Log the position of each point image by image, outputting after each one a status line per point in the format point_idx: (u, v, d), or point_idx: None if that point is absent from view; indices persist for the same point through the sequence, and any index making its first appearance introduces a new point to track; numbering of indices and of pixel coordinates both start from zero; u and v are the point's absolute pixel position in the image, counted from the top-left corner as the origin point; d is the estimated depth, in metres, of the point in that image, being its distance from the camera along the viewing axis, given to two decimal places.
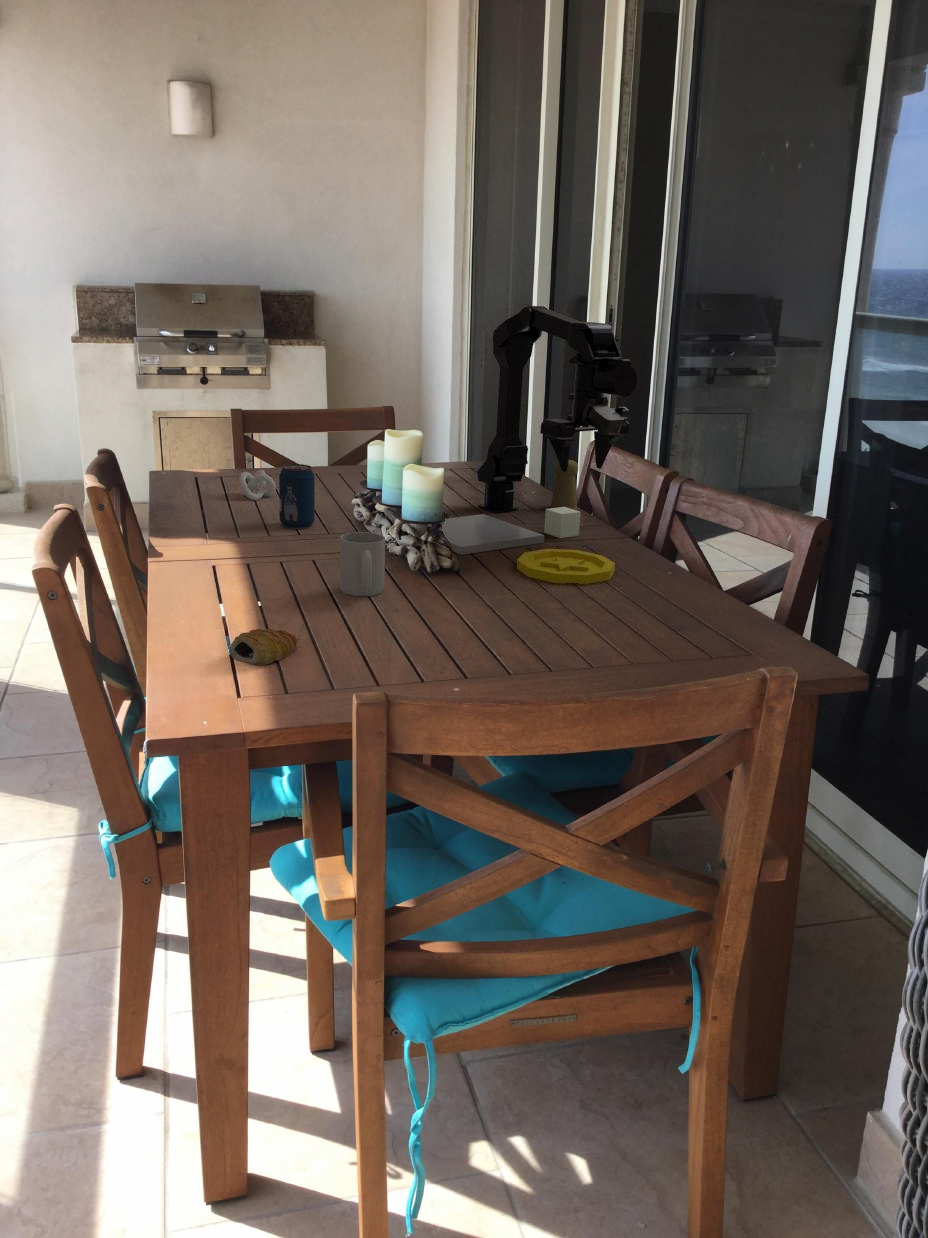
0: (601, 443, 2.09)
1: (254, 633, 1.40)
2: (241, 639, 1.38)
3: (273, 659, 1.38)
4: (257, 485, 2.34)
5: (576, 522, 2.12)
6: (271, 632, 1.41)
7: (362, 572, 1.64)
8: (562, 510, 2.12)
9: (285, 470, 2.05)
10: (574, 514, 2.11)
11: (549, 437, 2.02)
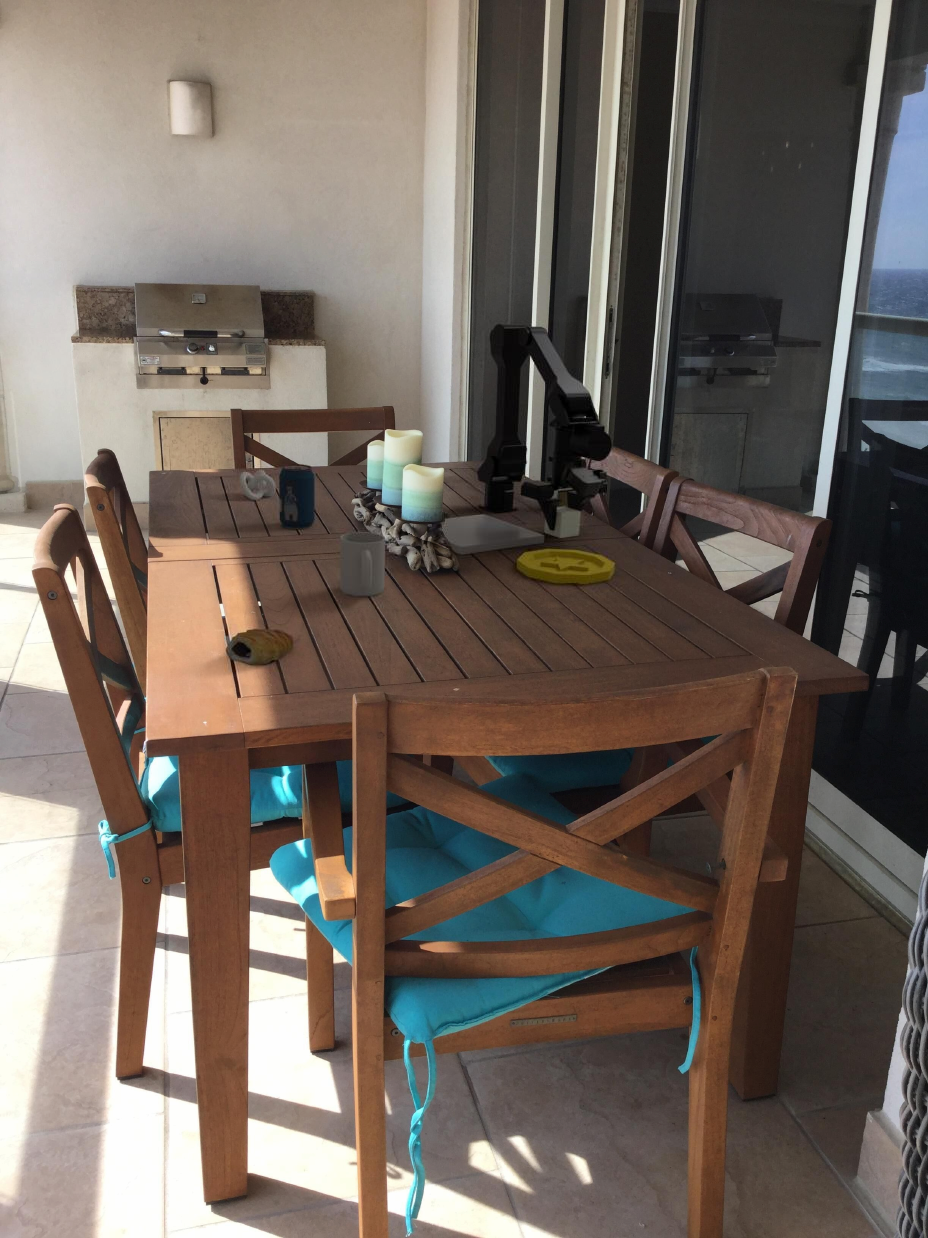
0: (573, 503, 2.14)
1: (251, 632, 1.40)
2: (239, 639, 1.38)
3: (271, 659, 1.39)
4: (257, 485, 2.34)
5: (576, 521, 2.12)
6: (268, 632, 1.41)
7: (362, 572, 1.64)
8: (562, 509, 2.12)
9: (285, 470, 2.05)
10: (575, 513, 2.11)
11: None
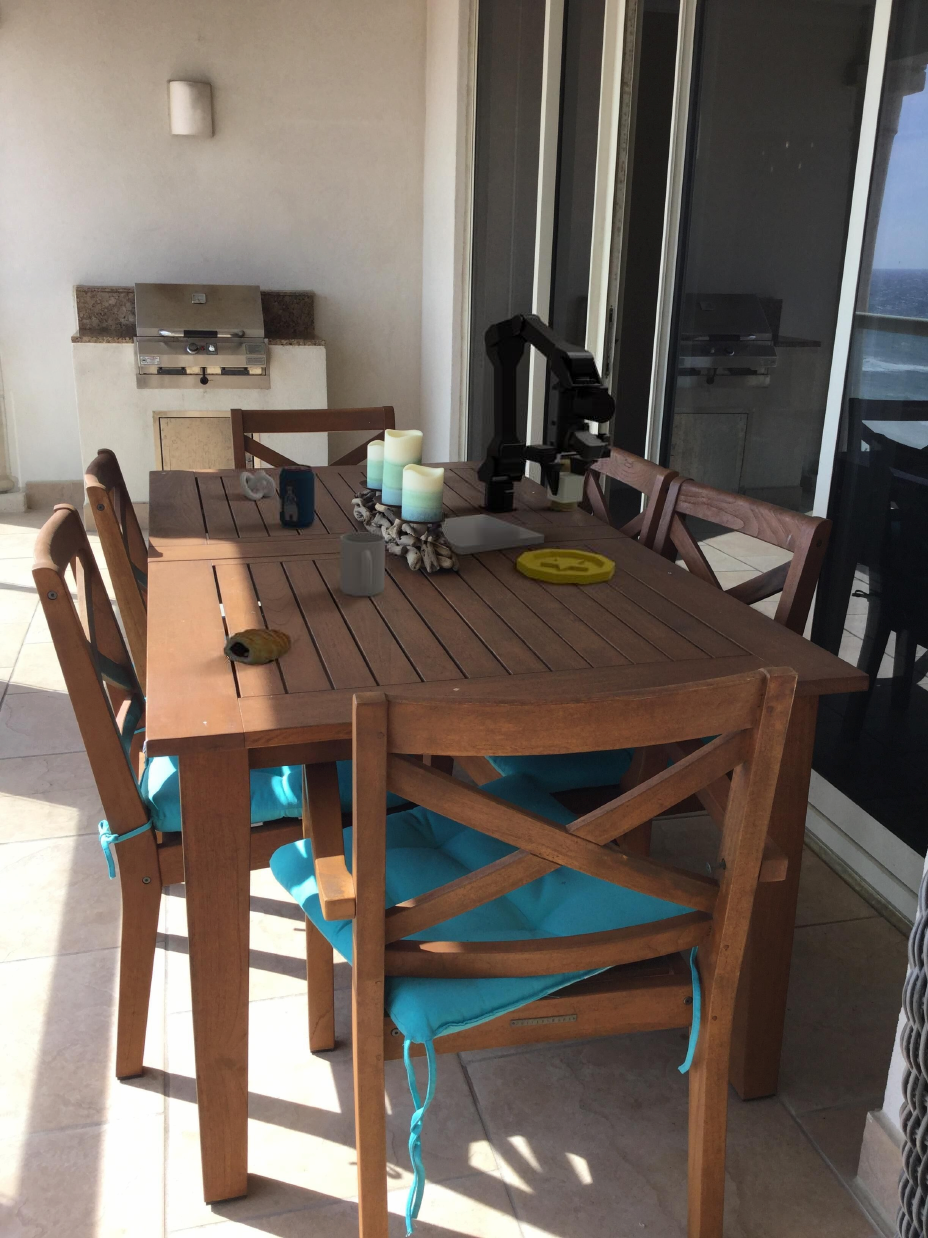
0: (577, 468, 2.11)
1: (248, 632, 1.40)
2: (237, 639, 1.38)
3: (269, 658, 1.39)
4: (257, 485, 2.34)
5: (579, 487, 2.09)
6: (266, 631, 1.41)
7: (362, 572, 1.64)
8: (565, 475, 2.10)
9: (285, 470, 2.05)
10: (578, 478, 2.09)
11: None
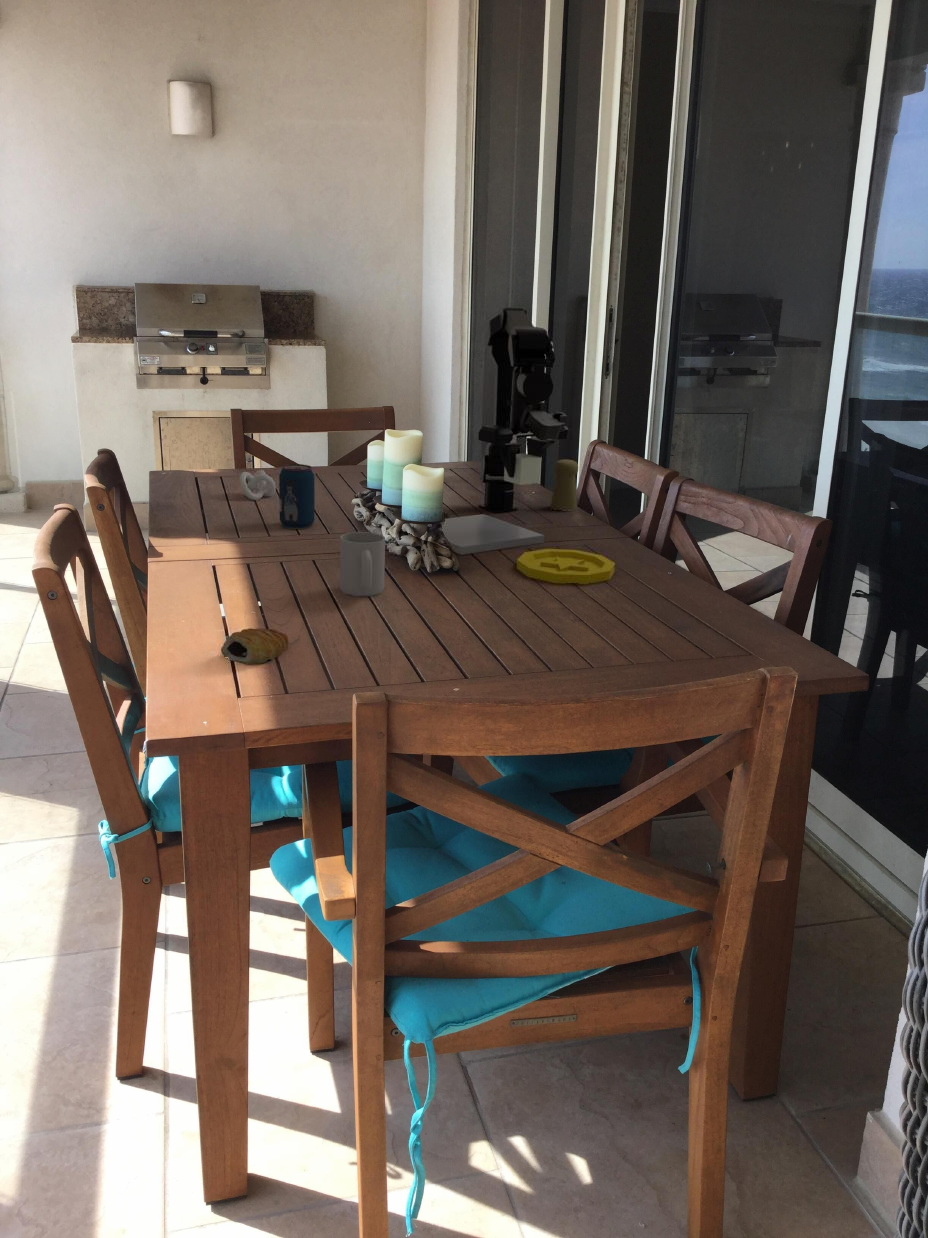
0: (533, 450, 2.07)
1: (246, 632, 1.40)
2: (234, 639, 1.38)
3: (267, 658, 1.39)
4: (257, 485, 2.34)
5: (536, 468, 2.05)
6: (263, 631, 1.41)
7: (362, 572, 1.64)
8: (522, 456, 2.06)
9: (285, 470, 2.05)
10: (535, 459, 2.05)
11: None
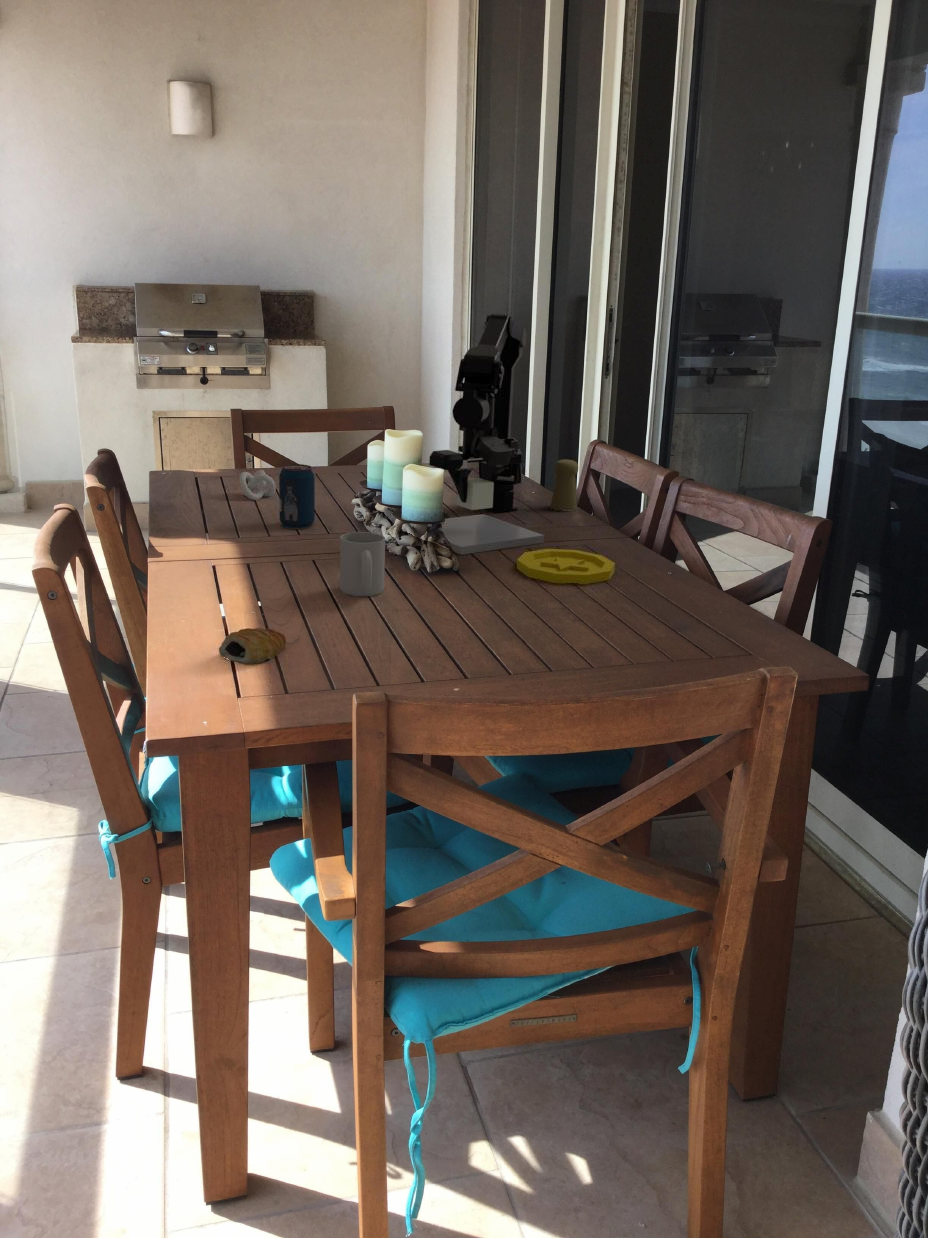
0: (487, 474, 2.06)
1: (244, 632, 1.40)
2: (232, 639, 1.38)
3: (265, 658, 1.39)
4: (257, 485, 2.34)
5: (489, 493, 2.04)
6: (261, 631, 1.41)
7: (362, 572, 1.64)
8: (475, 481, 2.05)
9: (285, 470, 2.05)
10: (487, 484, 2.03)
11: None
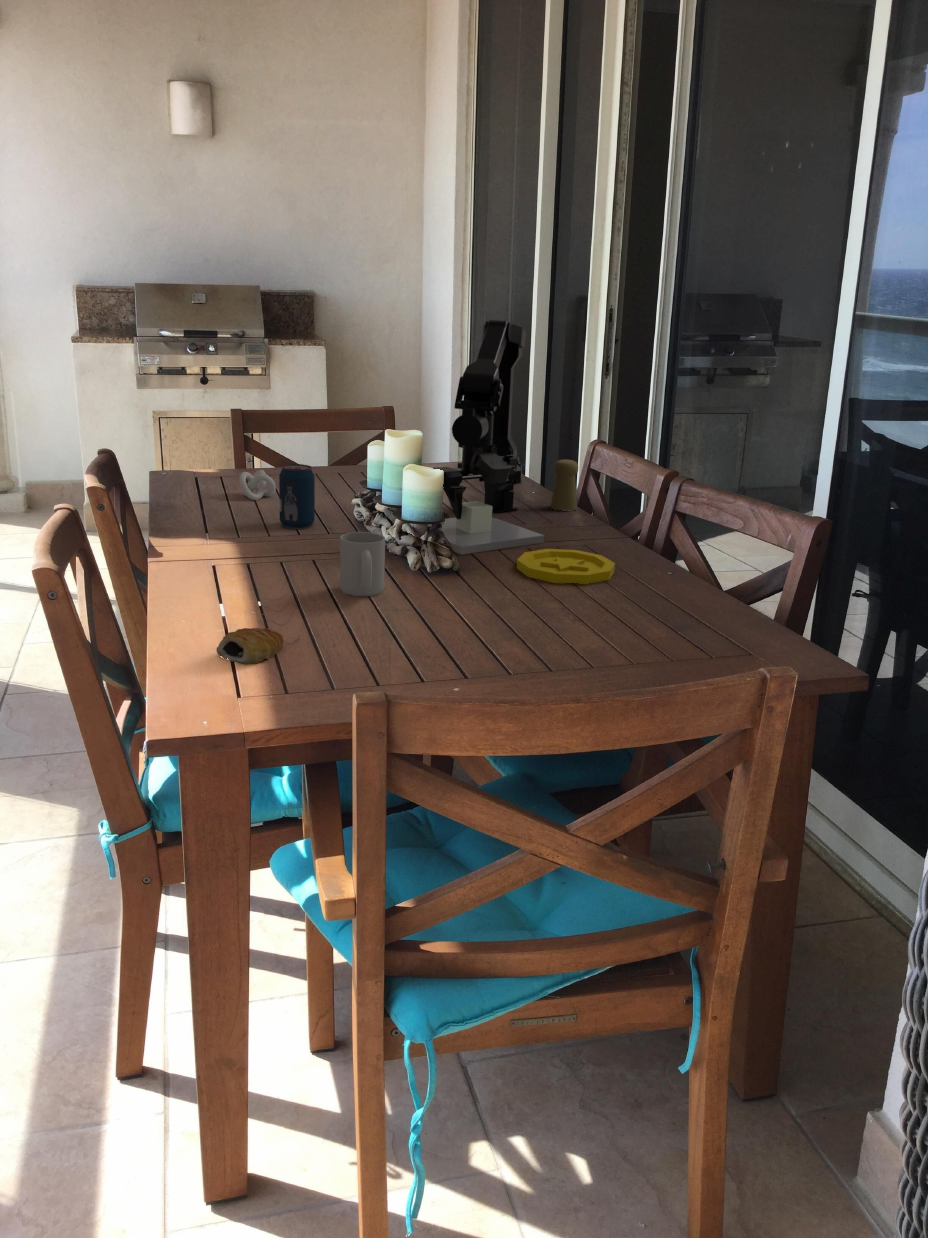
0: (490, 490, 2.08)
1: (241, 632, 1.40)
2: (230, 639, 1.38)
3: (263, 657, 1.39)
4: (257, 485, 2.34)
5: (488, 517, 2.06)
6: (258, 631, 1.42)
7: (362, 572, 1.64)
8: (473, 504, 2.06)
9: (285, 470, 2.05)
10: (486, 508, 2.05)
11: None
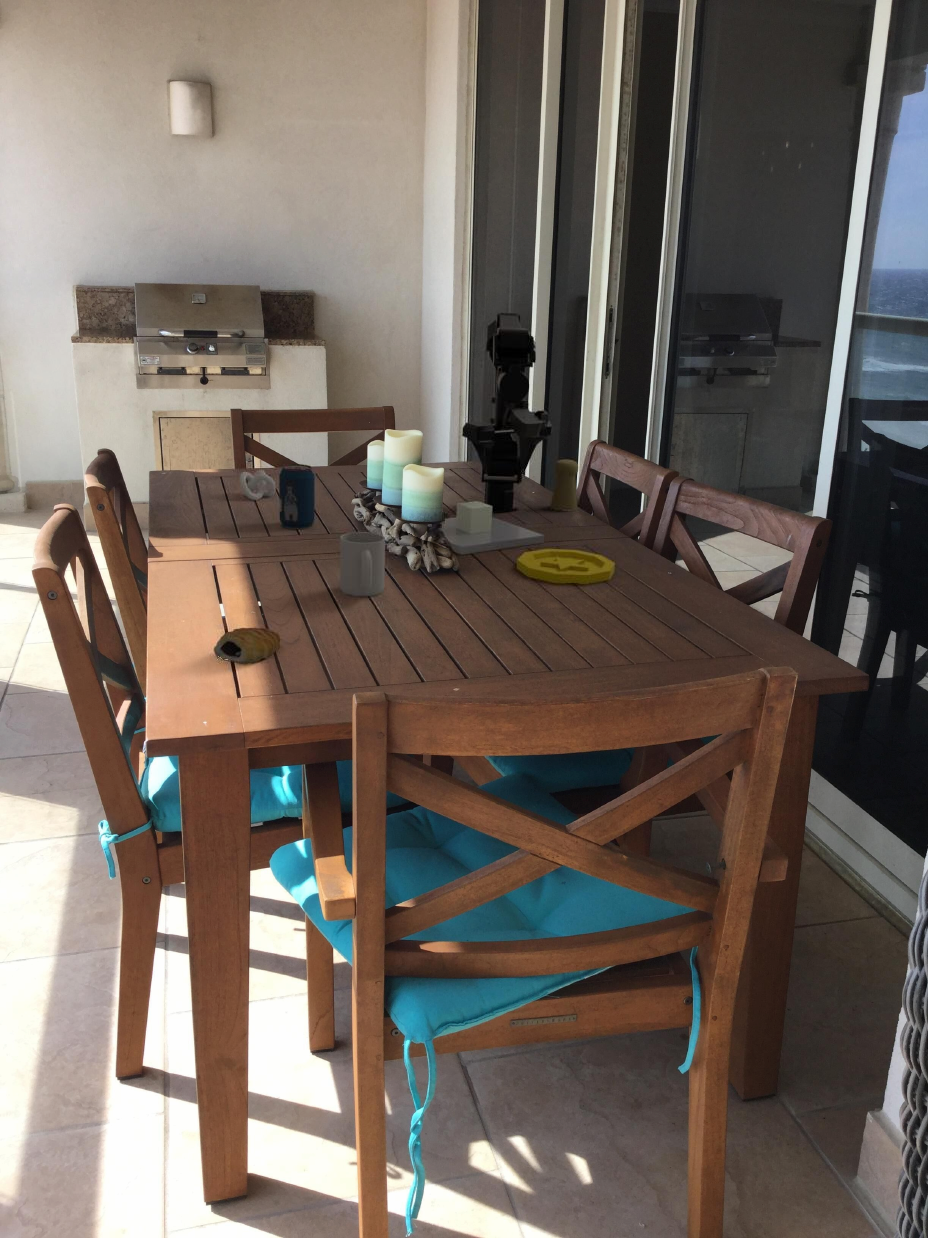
0: (525, 445, 2.15)
1: (239, 631, 1.40)
2: (228, 639, 1.38)
3: (261, 657, 1.39)
4: (257, 485, 2.34)
5: (488, 517, 2.06)
6: (256, 630, 1.42)
7: (362, 572, 1.64)
8: (473, 504, 2.06)
9: (285, 470, 2.05)
10: (486, 508, 2.05)
11: (471, 440, 2.08)
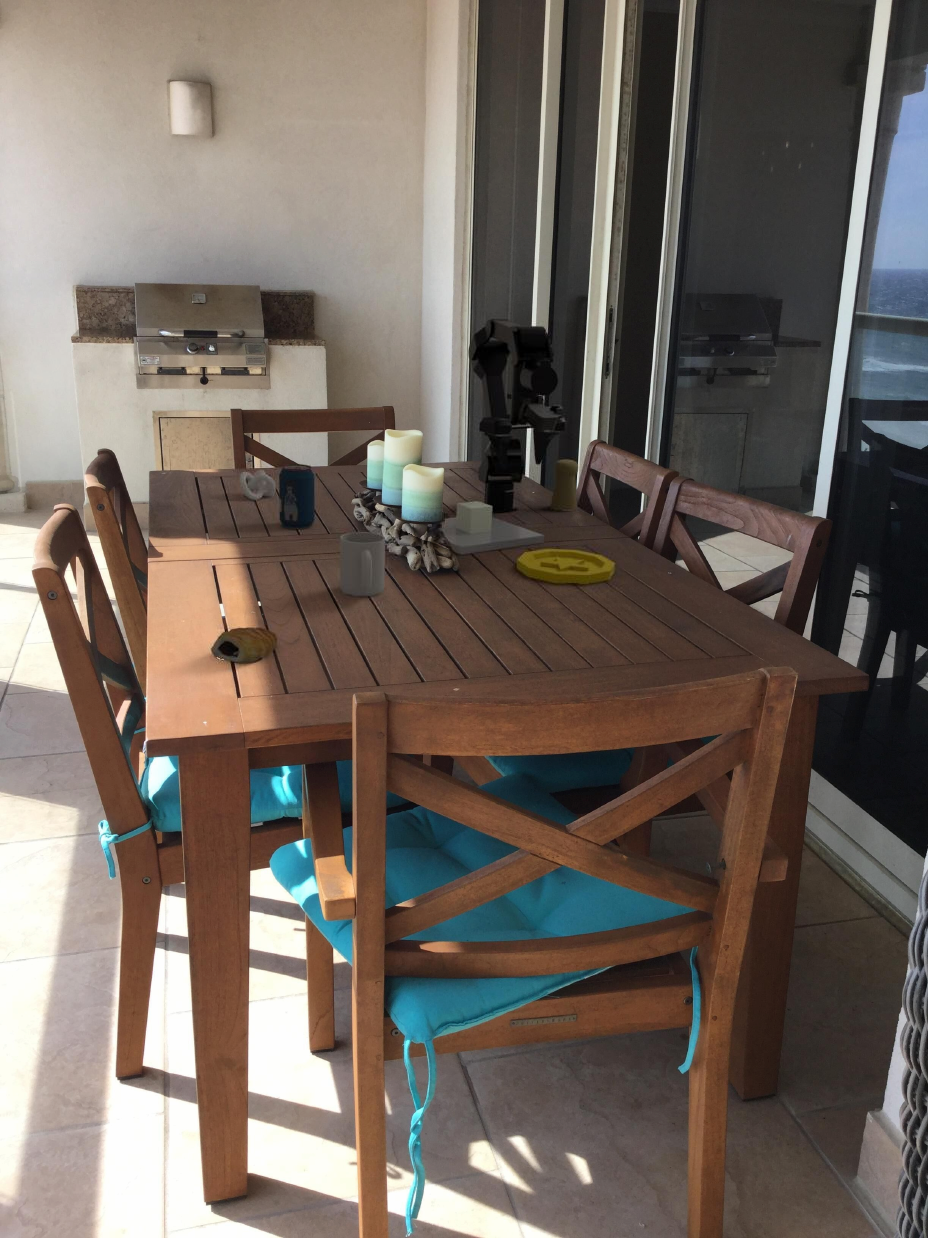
0: (539, 440, 2.19)
1: (236, 631, 1.40)
2: (225, 638, 1.38)
3: (258, 657, 1.39)
4: (257, 485, 2.34)
5: (488, 517, 2.06)
6: (253, 630, 1.42)
7: (362, 572, 1.64)
8: (473, 504, 2.06)
9: (285, 470, 2.05)
10: (486, 508, 2.05)
11: (488, 434, 2.12)
